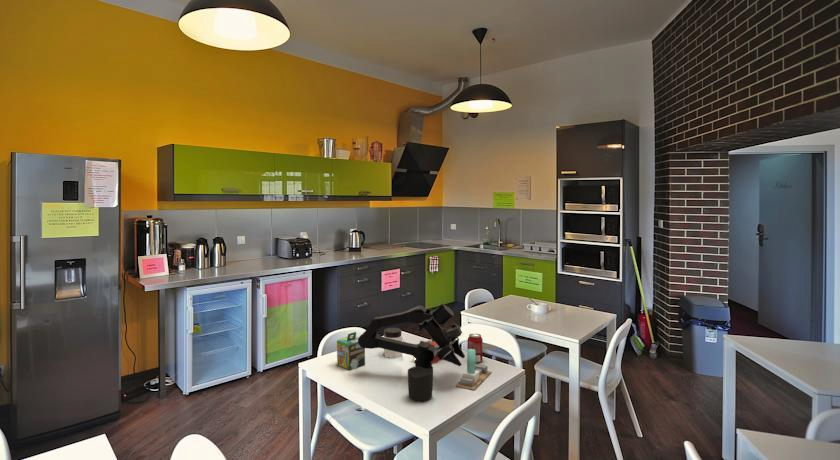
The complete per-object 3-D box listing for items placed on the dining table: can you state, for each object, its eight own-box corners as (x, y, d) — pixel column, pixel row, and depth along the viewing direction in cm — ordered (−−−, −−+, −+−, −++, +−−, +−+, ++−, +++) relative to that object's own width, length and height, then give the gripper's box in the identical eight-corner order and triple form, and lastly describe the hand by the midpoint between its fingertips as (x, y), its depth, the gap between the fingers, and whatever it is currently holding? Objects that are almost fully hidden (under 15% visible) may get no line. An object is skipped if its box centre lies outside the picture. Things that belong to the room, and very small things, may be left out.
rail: (474, 390, 171) (474, 382, 171) (455, 386, 175) (455, 378, 174) (491, 372, 188) (491, 365, 188) (473, 369, 192) (473, 362, 192)
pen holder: (425, 390, 172) (425, 364, 171) (437, 399, 163) (437, 372, 163) (403, 394, 167) (403, 368, 167) (415, 405, 159) (415, 377, 158)
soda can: (481, 364, 198) (482, 337, 198) (466, 363, 200) (466, 337, 199) (482, 359, 205) (483, 333, 204) (468, 358, 206) (468, 332, 205)
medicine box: (435, 353, 213) (435, 337, 212) (448, 357, 207) (448, 340, 207) (413, 362, 202) (413, 344, 201) (426, 366, 196) (426, 348, 196)
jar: (391, 359, 204) (391, 333, 204) (379, 355, 210) (379, 330, 209) (405, 354, 211) (405, 329, 210) (394, 350, 216) (394, 326, 216)
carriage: (474, 383, 175) (475, 352, 174) (462, 381, 177) (463, 350, 177) (479, 379, 180) (479, 349, 179) (467, 376, 182) (467, 347, 181)
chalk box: (353, 360, 204) (352, 328, 203) (365, 365, 198) (365, 332, 197) (336, 365, 197) (335, 332, 196) (349, 370, 191) (348, 336, 190)
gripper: (445, 325, 170) (474, 356, 168) (453, 313, 188) (479, 341, 186) (425, 343, 172) (453, 374, 170) (435, 330, 190) (460, 358, 188)
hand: (462, 361), depth 179 cm, fingers open, 9 cm apart
